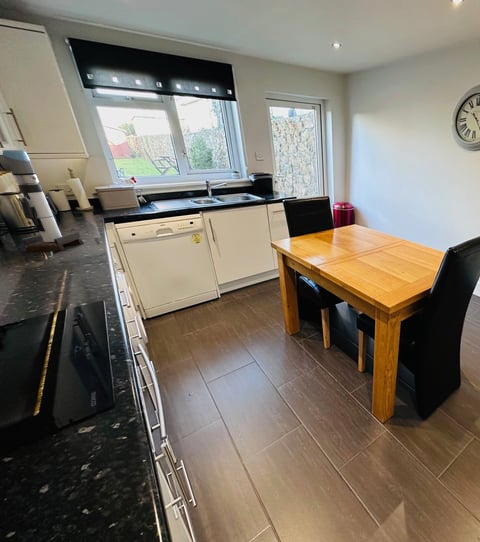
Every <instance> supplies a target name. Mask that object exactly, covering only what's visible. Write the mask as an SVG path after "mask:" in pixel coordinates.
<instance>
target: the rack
mask: <svg viewBox="0 0 480 542" xmlns="http://www.w3.org/2000/svg"><path fill="white" fill-rule="evenodd" d="M21 241H22V243H23V245H24V246H25V249H26V251H27V253H28V252H65V251H66V249H65V247H64V246H81V245H84V242H83V239H82V238H81V234H80V232H79V231H75V232H71V233H68V234H66V235H62V237H59V238H56V239H54V242H44V240H43V238H42V236H41V234H40V233H39V234H36V235H32V236H30V237H26V238H21Z"/></svg>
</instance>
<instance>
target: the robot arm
mask: <svg viewBox="0 0 480 542" xmlns="http://www.w3.org/2000/svg"><path fill="white" fill-rule="evenodd" d="M0 172H11V174H12V176H13V178H14V180H15V183H16V184H17V187H18V190H19V191H20V193H21V194H22V193H23V194H24V196H23V197H18V201H19V203H20V205H21V208H22V211H23V213H24V218H25V219H28V220H31V221H32V224H33V226H35V228H36V230H37V232H39V231H45V229H44V227H43V225H42V223H41V220H40V218H37V211H36V209H35V207H30V205H29V202H28V200H27V199H29V200H30V196H29V195H28V193H36V192H42V191H43V187H42V185H41V184H40V181H39V178H38V176H37V173H36V172H35V170H34V166H33V164H32V162H31V159H30V157H29V155H28V153H27V152H26V151H25V150H21V149H4V150H2V154H0ZM43 192H44V191H43ZM23 194H22V195H23ZM44 195H45V198H46V200H47V202H48V205H49V207H50V209H51V212H52V214H53V217H54V219H55V221H56V224H57V226H58V228H59V227H60V226H59V224H58V222H57V217H56V215H57V213H58V209H56V206H55V205H54V203H53V201H52V199H51V195H50V194H48V193H44Z"/></svg>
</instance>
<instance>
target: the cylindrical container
mask: <svg viewBox="0 0 480 542" xmlns="http://www.w3.org/2000/svg"><path fill="white" fill-rule="evenodd" d="M44 194H45V193H44V191H42V192H36V193H28V195H29V196H30V200H29V199H27V200H28V202H29V205H30V207H35V209H36V211H37V218H40V220H41V223H42V225H43V227H44V229H45V231H38V232H39V234H41V236H42V238H43V240H44V242H54V239H56V238H59V237H62V236H63V235H62V232H61V231H60V229H59V227H58V226H59V225H58V226H57V224H58V223H57V224H56V222H57V220H56V221H55V219H54V217H53V214H52V212H51V209H50V207H49V205H48V202H47V200H46V198H45V195H44ZM21 195H22V196H23V197H24V194H23V193H22V192H21Z"/></svg>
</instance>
